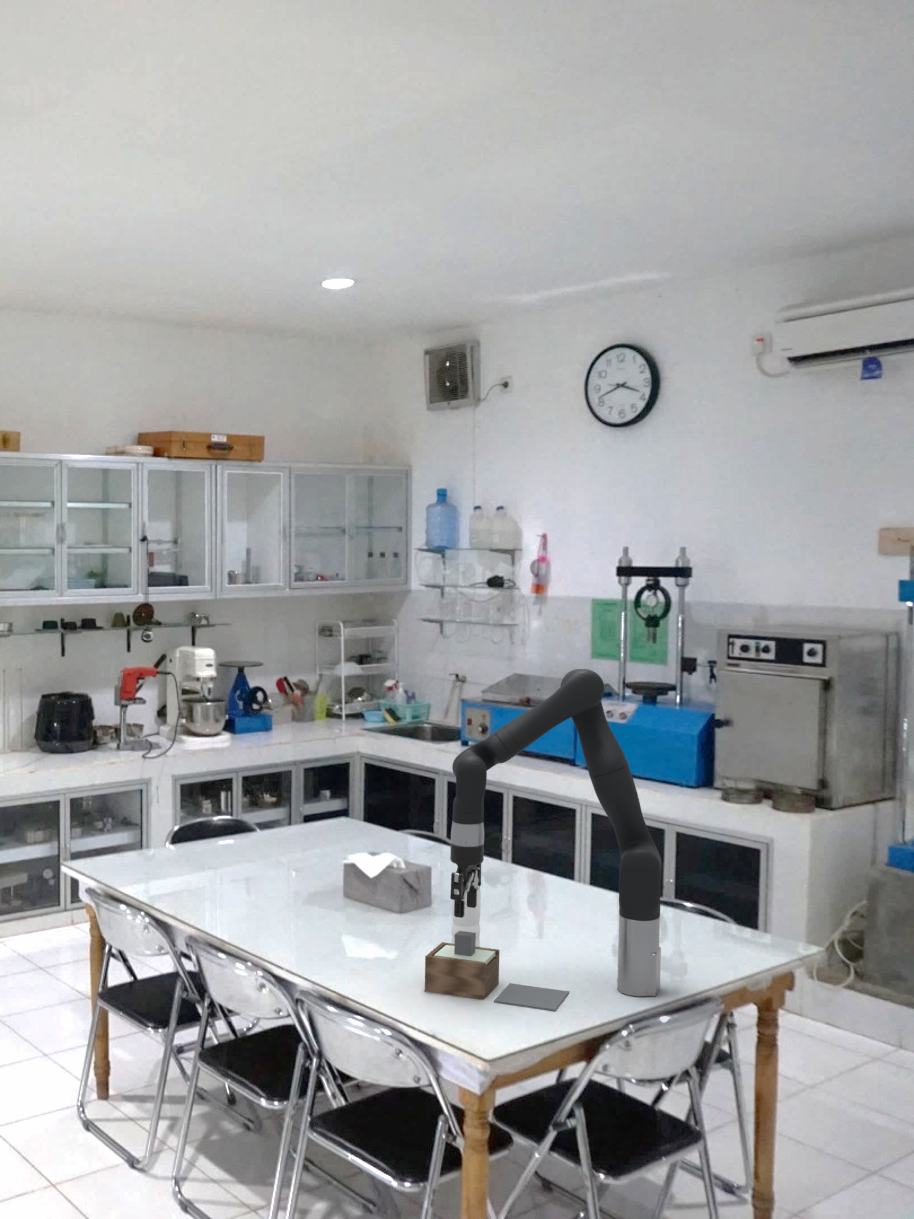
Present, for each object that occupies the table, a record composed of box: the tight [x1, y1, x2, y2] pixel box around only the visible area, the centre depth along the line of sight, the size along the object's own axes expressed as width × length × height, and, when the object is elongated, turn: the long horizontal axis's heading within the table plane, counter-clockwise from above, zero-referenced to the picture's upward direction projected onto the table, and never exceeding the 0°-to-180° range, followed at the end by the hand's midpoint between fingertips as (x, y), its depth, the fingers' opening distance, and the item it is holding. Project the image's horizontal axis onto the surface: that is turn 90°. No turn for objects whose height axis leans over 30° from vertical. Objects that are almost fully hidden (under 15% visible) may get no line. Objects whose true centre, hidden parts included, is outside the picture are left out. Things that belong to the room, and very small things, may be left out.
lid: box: [434, 931, 495, 964], centre depth 277 cm, size 12×8×6 cm, turn 70°
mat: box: [493, 982, 570, 1012], centre depth 272 cm, size 14×12×1 cm
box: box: [424, 941, 500, 1001], centre depth 278 cm, size 14×11×8 cm
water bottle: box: [451, 886, 482, 947], centre depth 302 cm, size 7×7×25 cm
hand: (465, 911), depth 277 cm, fingers open, 8 cm apart
